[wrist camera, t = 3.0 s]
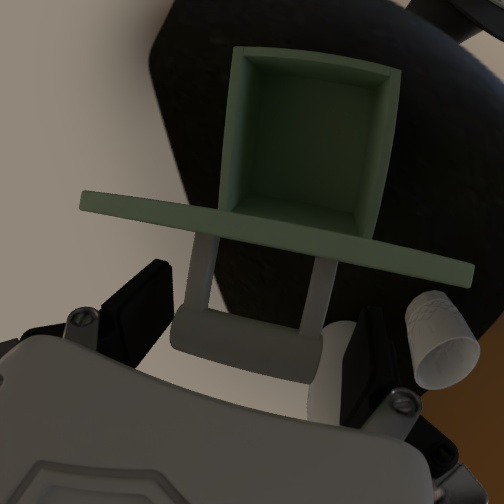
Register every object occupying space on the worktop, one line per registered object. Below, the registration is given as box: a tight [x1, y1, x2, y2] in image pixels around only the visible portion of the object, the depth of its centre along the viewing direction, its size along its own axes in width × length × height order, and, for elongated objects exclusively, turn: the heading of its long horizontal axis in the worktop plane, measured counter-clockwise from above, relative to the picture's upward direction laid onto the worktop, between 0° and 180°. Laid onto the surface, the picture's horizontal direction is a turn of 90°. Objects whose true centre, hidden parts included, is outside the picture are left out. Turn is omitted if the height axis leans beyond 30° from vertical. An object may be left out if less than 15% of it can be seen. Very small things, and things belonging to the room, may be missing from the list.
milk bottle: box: [307, 321, 356, 427], centre depth 27 cm, size 8×8×20 cm
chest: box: [218, 47, 401, 240], centre depth 24 cm, size 15×13×9 cm
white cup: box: [405, 290, 480, 390], centre depth 27 cm, size 8×8×10 cm
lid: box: [79, 191, 475, 384], centre depth 15 cm, size 15×13×5 cm
